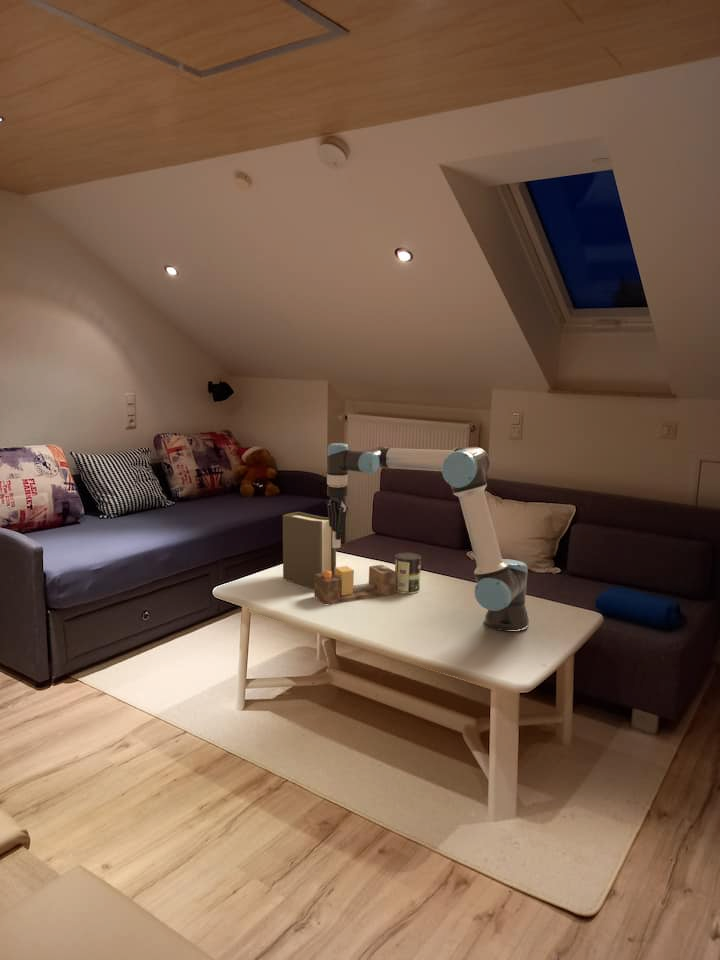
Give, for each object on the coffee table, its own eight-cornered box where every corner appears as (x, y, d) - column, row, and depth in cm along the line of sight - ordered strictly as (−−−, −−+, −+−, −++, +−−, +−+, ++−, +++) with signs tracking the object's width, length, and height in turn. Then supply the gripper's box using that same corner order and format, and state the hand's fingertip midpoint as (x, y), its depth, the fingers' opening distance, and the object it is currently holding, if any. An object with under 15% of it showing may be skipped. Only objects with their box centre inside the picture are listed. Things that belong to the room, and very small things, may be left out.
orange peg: (332, 587, 268) (333, 572, 267) (325, 588, 267) (325, 573, 266) (329, 585, 271) (329, 570, 270) (322, 586, 269) (322, 571, 268)
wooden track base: (381, 586, 287) (382, 563, 285) (394, 593, 278) (395, 570, 277) (314, 596, 273) (314, 572, 271) (325, 604, 264) (326, 580, 262)
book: (281, 580, 292) (281, 513, 288) (298, 575, 299) (297, 510, 295) (319, 591, 278) (319, 521, 274) (335, 586, 285) (336, 517, 281)
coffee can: (418, 586, 288) (420, 552, 286) (420, 594, 278) (422, 560, 276) (393, 585, 289) (394, 551, 286) (394, 593, 278) (395, 559, 276)
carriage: (345, 589, 277) (346, 565, 275) (353, 594, 271) (353, 570, 270) (334, 590, 274) (334, 567, 272) (341, 595, 269) (342, 572, 267)
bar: (372, 587, 280) (372, 582, 280) (375, 589, 278) (375, 584, 278) (333, 593, 272) (334, 588, 272) (336, 595, 270) (336, 590, 270)
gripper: (354, 487, 258) (353, 550, 262) (338, 481, 269) (337, 542, 273) (336, 489, 254) (335, 552, 258) (320, 483, 265) (319, 544, 269)
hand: (336, 547), depth 266 cm, fingers closed
